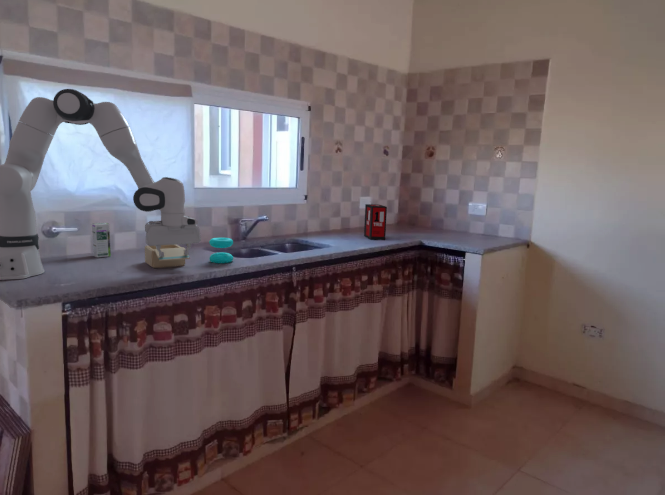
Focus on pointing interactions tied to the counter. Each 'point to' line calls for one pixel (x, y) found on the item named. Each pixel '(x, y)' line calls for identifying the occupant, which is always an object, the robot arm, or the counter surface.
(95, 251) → the syrup box
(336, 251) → the counter surface
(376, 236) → the cleaning product box
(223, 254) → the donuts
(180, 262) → the carton
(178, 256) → the flap
